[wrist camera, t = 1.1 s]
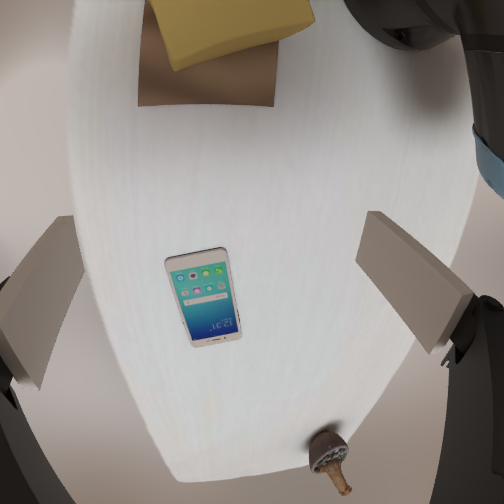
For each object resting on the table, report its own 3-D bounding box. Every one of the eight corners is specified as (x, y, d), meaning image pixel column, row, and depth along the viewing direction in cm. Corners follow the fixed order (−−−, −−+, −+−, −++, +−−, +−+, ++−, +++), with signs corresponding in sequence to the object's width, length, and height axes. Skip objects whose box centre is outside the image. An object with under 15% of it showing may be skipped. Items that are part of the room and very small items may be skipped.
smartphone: (227, 247, 34) (243, 338, 41) (226, 244, 34) (242, 334, 42) (162, 260, 33) (192, 348, 40) (162, 256, 33) (191, 344, 41)
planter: (310, 451, 75) (330, 504, 58) (283, 443, 66) (303, 507, 49) (352, 429, 72) (377, 483, 56) (331, 419, 64) (360, 484, 47)
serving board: (151, -35, 17) (151, -37, 16) (281, -29, 19) (283, -31, 19) (139, 106, 24) (138, 106, 24) (271, 106, 27) (273, 106, 27)
